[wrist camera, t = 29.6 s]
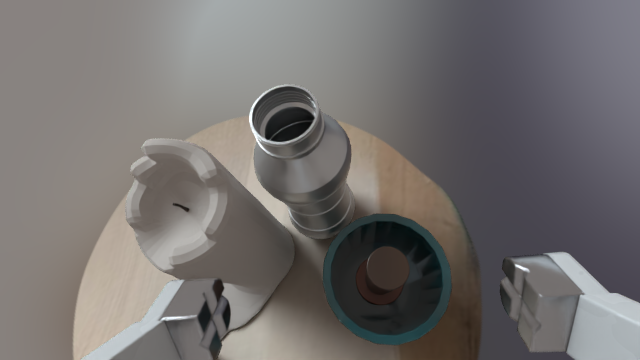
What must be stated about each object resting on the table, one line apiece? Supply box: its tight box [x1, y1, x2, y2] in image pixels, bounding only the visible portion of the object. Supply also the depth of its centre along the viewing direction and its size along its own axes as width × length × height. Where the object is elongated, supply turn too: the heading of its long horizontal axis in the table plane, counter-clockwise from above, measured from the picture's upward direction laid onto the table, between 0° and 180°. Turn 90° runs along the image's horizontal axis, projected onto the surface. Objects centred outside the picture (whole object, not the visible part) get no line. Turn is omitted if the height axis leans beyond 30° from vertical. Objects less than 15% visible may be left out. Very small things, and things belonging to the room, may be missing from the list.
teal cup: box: [323, 214, 452, 345], centre depth 28 cm, size 9×9×10 cm
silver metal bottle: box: [249, 84, 355, 239], centre depth 27 cm, size 6×7×20 cm
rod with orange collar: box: [356, 247, 410, 305], centre depth 25 cm, size 4×4×14 cm
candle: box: [125, 138, 295, 340], centre depth 25 cm, size 7×14×20 cm, turn 144°
